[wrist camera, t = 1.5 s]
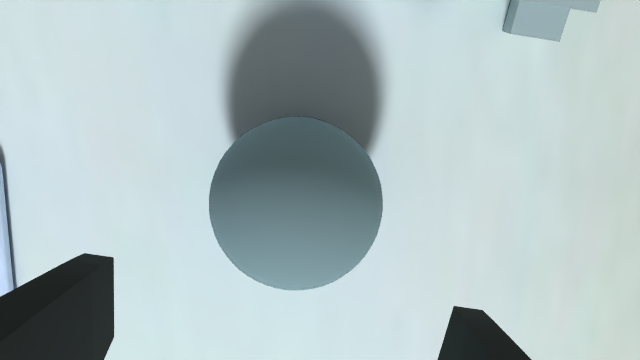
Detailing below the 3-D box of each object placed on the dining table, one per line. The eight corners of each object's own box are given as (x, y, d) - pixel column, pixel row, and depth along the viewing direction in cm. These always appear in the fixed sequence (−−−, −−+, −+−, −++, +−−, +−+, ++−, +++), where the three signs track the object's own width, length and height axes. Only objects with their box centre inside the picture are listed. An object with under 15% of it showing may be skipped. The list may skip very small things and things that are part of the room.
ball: (222, 226, 20) (183, 313, 15) (234, 87, 18) (193, 134, 13) (361, 246, 20) (370, 339, 15) (389, 111, 18) (411, 166, 13)
